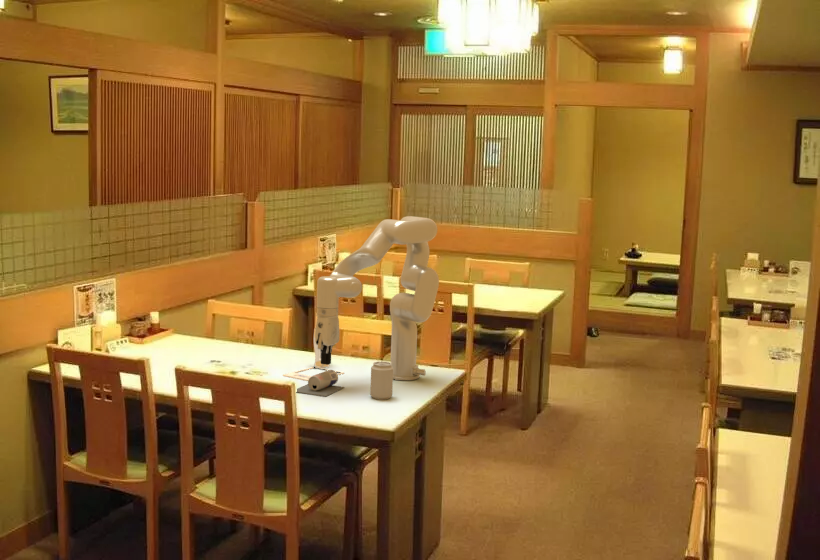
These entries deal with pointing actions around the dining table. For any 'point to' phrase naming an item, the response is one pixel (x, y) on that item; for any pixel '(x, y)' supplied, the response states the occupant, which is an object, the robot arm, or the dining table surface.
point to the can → (381, 380)
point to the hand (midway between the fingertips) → (325, 363)
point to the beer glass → (318, 355)
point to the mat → (322, 392)
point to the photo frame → (303, 377)
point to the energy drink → (323, 380)
